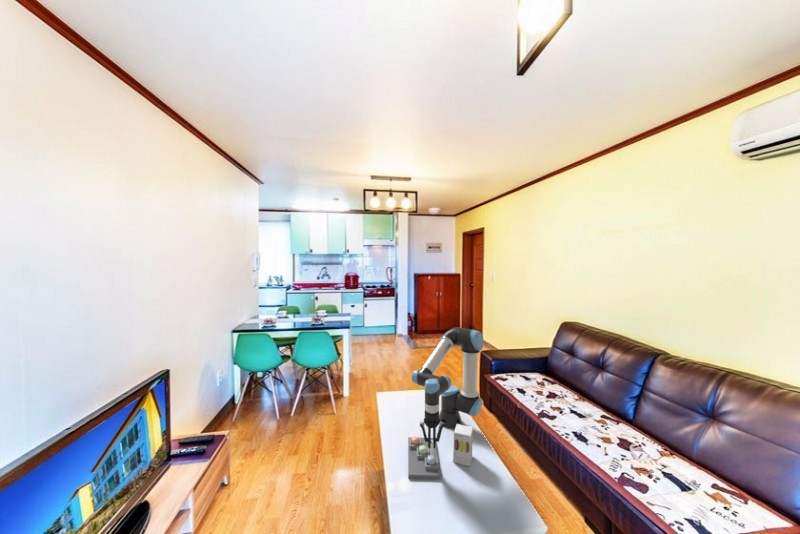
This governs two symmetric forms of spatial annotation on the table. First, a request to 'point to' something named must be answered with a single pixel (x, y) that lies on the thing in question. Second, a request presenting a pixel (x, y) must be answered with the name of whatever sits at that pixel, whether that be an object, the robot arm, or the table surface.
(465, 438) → the supplement box
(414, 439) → the coral button
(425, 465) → the panel
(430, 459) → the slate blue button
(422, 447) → the sage button
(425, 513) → the table surface
